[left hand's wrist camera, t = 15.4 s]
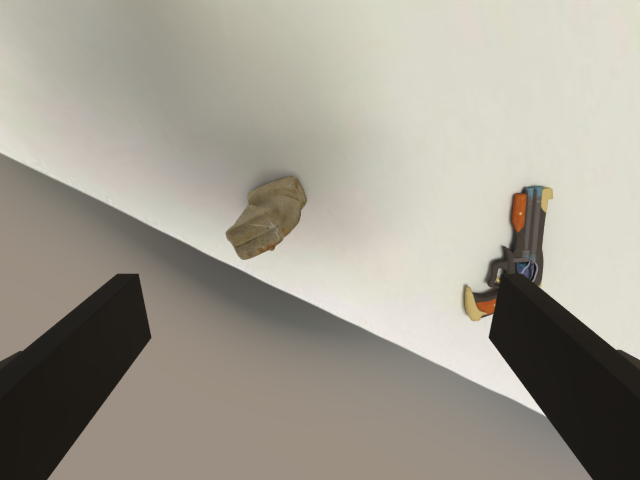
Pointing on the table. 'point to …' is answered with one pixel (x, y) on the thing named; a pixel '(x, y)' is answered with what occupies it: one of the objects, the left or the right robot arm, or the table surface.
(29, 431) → the left robot arm
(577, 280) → the table surface
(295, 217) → the sculpture
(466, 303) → the toy gun
